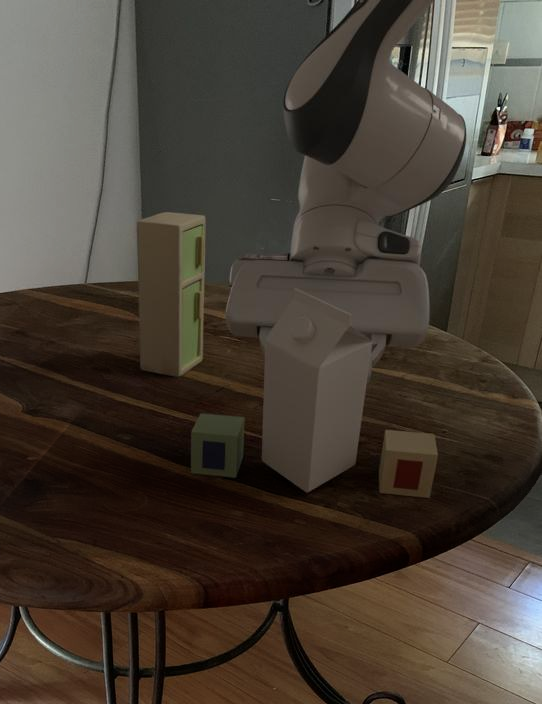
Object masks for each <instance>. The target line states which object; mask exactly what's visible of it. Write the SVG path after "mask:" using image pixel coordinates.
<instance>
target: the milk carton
mask: <svg viewBox="0 0 542 704" xmlns="http://www.w3.org/2000/svg"><path fill="white" fill-rule="evenodd" d="M350 324H351V314H350V313H348V312H346V311H344V310H342V309H339V308H337V307H335V306H333V305H331V304H329V303H327V302H324V301H322V300H320V299H318V298H316V297H314V296H312V295H310V294H307V293H305V292H303V291H301V290H299V289H297V288H294V293H293V300H292V301H291V303H290V304H289V305H288V307H287V308H286V310H285V311H284V313H283V314H282V315H281V317H280V318H279V320H278V321H277V323H276V324H275V325H274V327H273V328H272V330H271V331H270V333H269V334H268V336H267V337H266V341H265V355H264V373H263V374H264V376H263V401H262V402H263V404H262V405H263V408H262V413H263V414H262V436H261V437H262V438H261V439H262V440H261V461H262V463H265V465H267V466H268V467H270V469H272V470H274V471H275V472H277V473H278V474H279V475H280V476H282V477H284V478H285V479H287V480H288V481H289V482H291V483H292V484H294V485H295V486H296V487H298V488H299V489H301V490H302V491H304V492H305V493H307V494H308V493H309V492H311V491H313V490H315V489H316V488H318V487H320V486H322V485H323V484H325V483H326V482H328V481H330V480H332V479H334V478H335V477H337V476H339V475H340V474H342V473H344V472H345V471H347V470H349V469H350V468H352V467H354V466H355V465H356V463H357V455H358V447H359V441H360V434H361V426H362V420H363V412H364V404H365V398H366V391H367V384H368V383H367V377H368V370H369V363H370V356H371V349H372V341H371V340H370V339H368V338H367V337H366V336H364V335H363V334H361V333H360V332H359V331H357V330H356V329H355V328H353V327H352V326H351V325H350Z"/></svg>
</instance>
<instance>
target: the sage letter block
mask: <svg viewBox="0 0 542 704" xmlns="http://www.w3.org/2000/svg"><path fill="white" fill-rule="evenodd" d="M245 419H246V418H245V416H235V415H222V414H212V413H200V414H199V415H198V417H197V420H196V422H195V423H194V426H193V428H192V430H191V432H190V474H197V475H206V476H216V477H225V478H234V479H236V478H237V476H238V473H239V470H240V468H241V465H242V461H243V458H244V443H245V442H244V441H245V439H244V438H245V421H246V420H245Z"/></svg>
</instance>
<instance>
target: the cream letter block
mask: <svg viewBox="0 0 542 704" xmlns="http://www.w3.org/2000/svg"><path fill="white" fill-rule="evenodd" d="M438 457H439V453H438V447H437V441H436V435H435V433H426V432H415V431H404V430H395V429H394V430H393V429H385V430H384V436H383V443H382V448H381V455H380V462H379V469H378V493H379V494H385V495H386V494H387V495H396V496H405V497H414V498H424V499H430V497H431V493H432V488H433V483H434V477H435V474H436V473H435V472H436V467H437V462H438Z"/></svg>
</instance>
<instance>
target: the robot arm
mask: <svg viewBox="0 0 542 704" xmlns="http://www.w3.org/2000/svg"><path fill="white" fill-rule="evenodd" d="M434 1H435V0H357V1H356V2H355V3H354V4H353V6H352V7H351V8H350V9H349V11H348V12H347V13H346V14H345V15H344V17H343V18H342V19H341V20H340V22H338V23H337V25H336V26H334V28H333V29H332V30H330V32H329V33H328V34H326V36H325V37H324V38H323V39H322V40H321V41H320V42H319V43H318V44H317V45H316V46H315V47H314V48H313V49H312V50H311V51H310V52H309V53H308V55H307V56H306V57H305V58H304V59H303V60H302V62H301V63H300V64H299V65H298V67H297V69H296V70H295V71H294V73H293V75H292V77H291V78H290V80H289V82H288V84H287V87H286V89H285V92H284V94H283V100H282V109H283V119H284V126H285V129H286V133H287V136H288V139H289V142H290V144H291V147H292V149H293V150H294V151H295V152H298V153H299V154H301V155H304V159H303V163H302V167H301V171H300V178H299V184H298V191H297V198H298V204H299V209H298V210H299V211H298V214H297V215H296V217H295V220H294V223H293V227H292V228H293V230H292V236H291V243H290V248H289V249H290V250H289V252H270V253H267V252H266V253H263V252H259V251H250V252H247V254H246V255H242V256H240V257H238V258H237V259H235V260H234V261H233V263H232V265H231V268H230V274H229V283H230V286H231V289H230V292H229V295H228V300H227V302H226V307H225V315H224V316H225V323H226V327H227V329H228V330H229V331H230V333H231V334H232V335H233V336H234V337H240V338H256V339H258V340H259V347H260V349H261V351H262V354H263V356H265V341H266V337H267V336H268V334H269V333H270V331H271V330H272V328H273V327H274V325H275V324H276V323H277V321H278V320H279V318H280V317H281V315H282V314H283V313H284V311H285V310H286V308H287V307H288V305H289V304H290V303H291V301H292V300H293V293H294V288H297V289H299V290H301V291H303V292H305V293H307V294H310V295H312V296H314V297H316V298H318V299H320V300H322V301H324V302H327V303H329V304H331V305H333V306H335V307H337V308H339V309H342V310H344V311H346V312H348V313H350V314H351V324H350V325H351V326H352V327H353V328H355V329H356V330H357V331H359V332H360V333H361V334H363V335H364V336H366V337H367V338H368V339H370V340H371V341H372V349H371V356H370V363H369V370H368V377H367V384H370V381H371V376H372V369H373V368H374V367H375V365H376V364H377V363H378V362H379V361H380V359H381V358H382V357H383V355H384V353H385V349H386V347H392V348H393V347H394V348H408V349H415V348H417V347H419V346H420V345H421V344H422V342H424V341H425V339H426V337H427V335H428V330H429V325H430V307H431V306H430V290H429V289H430V288H429V283H428V277H427V274H426V273H425V270H423V268H422V267H421V266H420V265H421V260H422V243H421V241H420V240H419V239H418V238H415V237H413V236H410V235H406V234H403V233H400V232H398V231H397V232H396V231H394V230H392V229H391V230H390V229H388V228H385V227H383V226H380V225H379V223H380V221H381V220H382V219H383V218H384V217H386V218H391V217H394V216H398V215H400V214H402V213H406V212H408V211H411V210H413V209H415V208H418V207H419V206H421V205H424V204H426V203H428V202H430V201H431V200H434V199H435V198H436V197H438V196H439V195H441V194H442V193H444V192H445V191H446V190H447V188H449V186H450V185H451V183H452V182H453V181H454V179H455V177H456V175H457V173H458V170H459V168H460V167H461V164H462V161H463V158H464V154H465V152H466V151H465V150H466V146H467V125H466V121H465V119H464V117H463V116H462V114H460V113H458V111H456V110H455V109H454V108H453V107H451V106H450V105H449V104H447V102H446V101H444V100H443V99H441V98H440V97H439V96H437V95H436V94H434V93H433V92H432V91H431V90H430V89H428V88H426V87H423V86H422V85H421V84H419V83H418V82H416V81H415V80H414V79H412V78H411V77H409V76H408V75H407V74H406V73H405V72H403V71H402V70H400V69H399V68H398V67H396V66H395V65H394V64H393V63H391V62H390V59H391V55H392V52H393V51H394V49H395V48H396V47H397V45H398V44H399V43H400V42H401V40H402V39H403V38H404V37H405V35H406V34H408V32H409V30H411V28H412V27H413V26H414V25H415V24H416V22H417V21H418V20H419V19H420V18H421V17H422V15H423V14H424V13H425V12H426V10H427V9H428V8H429V7H430V6H431V4H432V3H433V2H434Z"/></svg>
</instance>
